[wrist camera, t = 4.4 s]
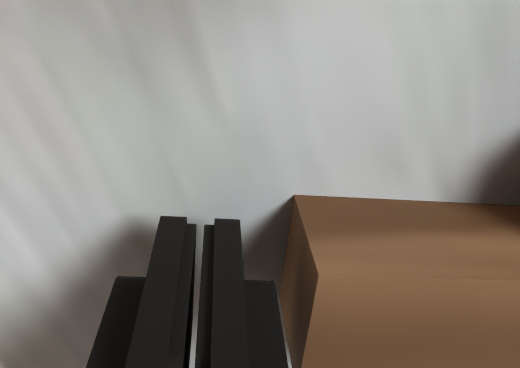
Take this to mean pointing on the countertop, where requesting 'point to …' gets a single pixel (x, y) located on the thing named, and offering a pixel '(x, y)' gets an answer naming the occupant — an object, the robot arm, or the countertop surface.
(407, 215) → the T block
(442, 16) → the countertop surface
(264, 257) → the countertop surface
